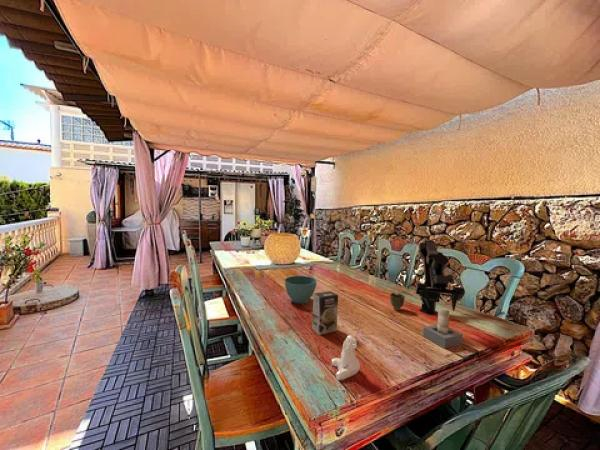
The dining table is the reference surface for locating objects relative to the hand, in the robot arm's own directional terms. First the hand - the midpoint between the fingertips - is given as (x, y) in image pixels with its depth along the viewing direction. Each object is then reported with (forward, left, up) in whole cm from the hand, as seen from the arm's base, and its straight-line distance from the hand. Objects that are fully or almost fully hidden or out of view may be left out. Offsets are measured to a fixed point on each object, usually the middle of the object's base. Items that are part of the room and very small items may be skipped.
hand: (441, 309), depth 109 cm
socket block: (+3, +3, -12) cm, 12 cm away
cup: (-4, -29, -12) cm, 32 cm away
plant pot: (+40, -58, -12) cm, 72 cm away
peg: (+3, +3, -12) cm, 12 cm away
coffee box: (+44, -21, -12) cm, 50 cm away
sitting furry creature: (+51, +7, -12) cm, 53 cm away
